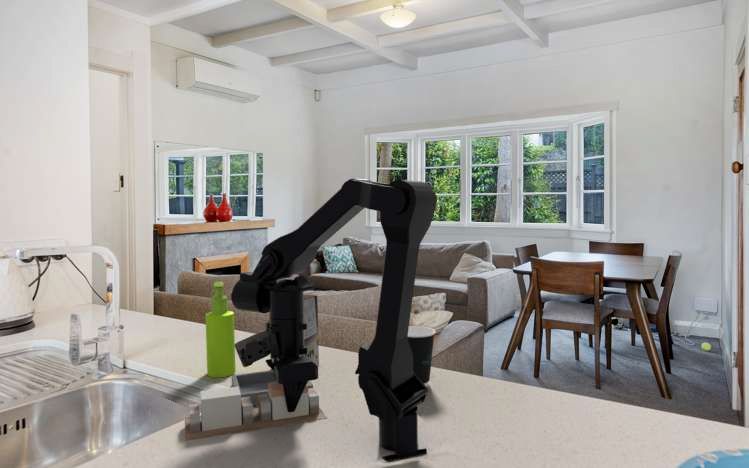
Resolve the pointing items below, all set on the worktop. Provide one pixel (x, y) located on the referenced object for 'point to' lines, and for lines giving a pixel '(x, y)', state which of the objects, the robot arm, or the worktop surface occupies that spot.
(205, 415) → the block
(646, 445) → the worktop surface
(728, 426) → the worktop surface
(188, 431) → the board
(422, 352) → the dixie cup
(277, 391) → the block
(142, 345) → the worktop surface
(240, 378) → the tray
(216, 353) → the soap dispenser
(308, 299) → the coffee box
